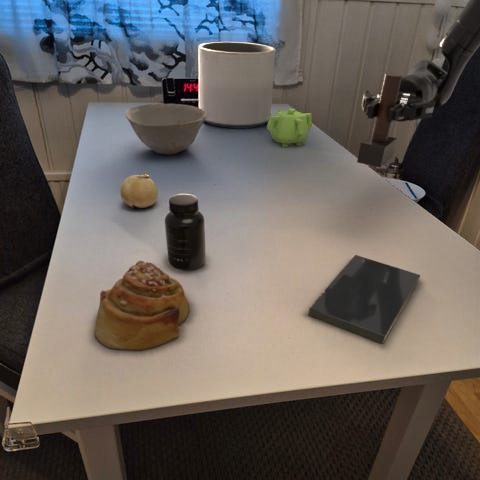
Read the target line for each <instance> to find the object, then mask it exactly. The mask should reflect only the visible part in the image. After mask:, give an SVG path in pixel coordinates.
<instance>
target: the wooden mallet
mask: <svg viewBox="0 0 480 480" xmlns="http://www.w3.org/2000/svg"><path fill="white" fill-rule="evenodd" d="M402 77H403V75H402V74H400V73H395V72H387V73H384V77H383V82H382V87H381V91H380V93H381V95H380V100H379V105H378V110H377V114H376V117H375V119H374V124H373V129H372V134H371V135H370V136H368V137H367V138H365V139H364V140H363V141H361V142H360V145H359V150H358V154H357V159H356V163H358V164H362V165H367V166H371V167H376V168H382V167H383V166H384V165H385V164H387V162H388V161H390V160H391V159H392V158H393V156H394V151H395V147H396V143H397V139H398V138H397V137H393V136H389V135H390V130H391V126H392V122H387V118H388V114H389V110H390V108H391V107H393V106H394V105H396V101H397V96H398V92H399V88H400V84H401V79H402Z"/></svg>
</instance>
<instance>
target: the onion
mask: <svg viewBox="0 0 480 480" xmlns="http://www.w3.org/2000/svg"><path fill="white" fill-rule="evenodd" d="M150 177H151V176H150V175H149V174H147V170H145V171H144V173H143V174H134V175H133V174H132V175H130V176H128V177H126V178H125V179H124V180H123V182H122V184H121V185H120V191H119V193H120V198H121V199H122V200H123V202H124V203H125V204H126V205H128V206H129V207H131V208H132V209H135V207H136V208H140V209H144V208H148V207H151V206H152V205H154V204H155V203H156V201H157V199H158V196H159V191H158V187H157V185H156V183H155V182H154V181H153V180H152V179H151V178H150Z"/></svg>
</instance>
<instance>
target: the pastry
mask: <svg viewBox="0 0 480 480" xmlns="http://www.w3.org/2000/svg"><path fill="white" fill-rule="evenodd" d="M190 308H191V307H190V303H189V301H188V299H187V297H186V295H185V290H184V288H183V285H182V284H181V283H180V282H179V281H178V280H177V279H175V278H173V277H170V275H169V274H167V273H166V272H165V271H163V270H162V269H161V268H159V267H157V266H156V265H155V264H154V263H152V262H148V261H144V260H138V261H136V263H135V264H133V265H131V266H130V267H129V268H128V270H127V271H126V272H125V273H124V274H123V276H122V277H121V278H119V279H118V280H117V281H116V282H115V283H114V284H113V286H112V287H111V288H110V289H107V290H101V291H100V297H99V306H98V308H97V309H98V310H97V314H96V318H95V319H96V320H95V326H94V335H95V337H96V339H97V341H99V342H100V343H101V344H102V345H104V346H105V347H107V348H109V349H115V350H131V351H143V350H147V349H148V350H149V349H152V348H155V347H158V346H161V345H163V344H166V343H167V342H169V341H172V340H175V339H177V338H178V337H179V336H180V325H181V324H182V323H184V321H185V320H187V317H188V316H189V314H190Z"/></svg>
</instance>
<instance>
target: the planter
mask: <svg viewBox="0 0 480 480" xmlns="http://www.w3.org/2000/svg"><path fill="white" fill-rule="evenodd" d="M197 49H198V51H197V53H198V54H197V55H198V57H197V58H198V108H199V109H202V110H204V111H206V112H207V117H206V119H205V121H204V122H206V123H207V124H210V125H212V126H215V127H221V128H226V129H227V128H229V129H249V128H257V127H260V126H263V125H264V124H266V123H268V120H269V116H272V110H273V95H274V94H273V93H274V76H275V64H276V63H275V62H276V48H274V47H272V46H270V45H266V44H260V43H254V42H253V43H252V42H242V41H241V42H240V41H213V42H205V43H201V44H199V45H198V47H197Z"/></svg>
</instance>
